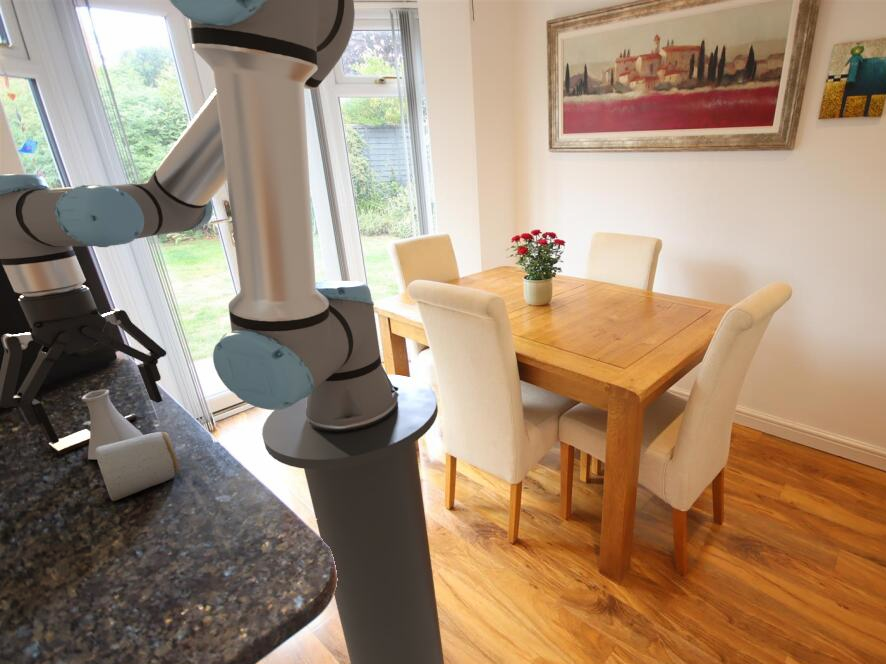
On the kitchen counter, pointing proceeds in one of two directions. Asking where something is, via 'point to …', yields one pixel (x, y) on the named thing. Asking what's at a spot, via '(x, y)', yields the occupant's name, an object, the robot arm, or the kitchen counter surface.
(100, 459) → the white cylinder
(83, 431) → the spatula
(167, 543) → the kitchen counter surface
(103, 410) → the flask
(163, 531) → the kitchen counter surface
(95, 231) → the robot arm
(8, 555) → the kitchen counter surface
